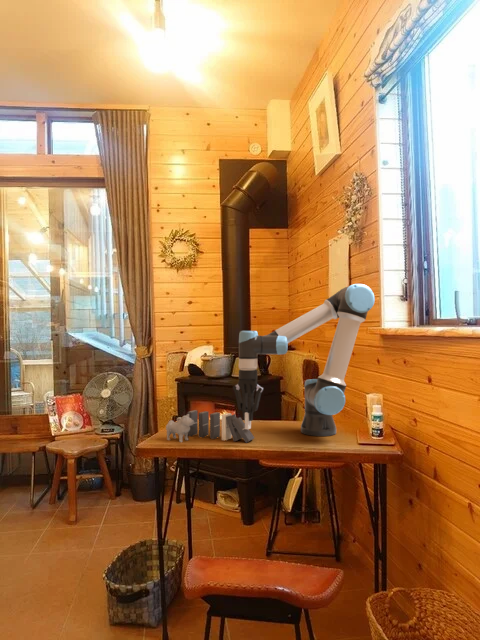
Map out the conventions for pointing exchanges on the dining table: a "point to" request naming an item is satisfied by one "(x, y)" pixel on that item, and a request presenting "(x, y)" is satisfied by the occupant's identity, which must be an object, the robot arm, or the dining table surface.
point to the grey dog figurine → (179, 427)
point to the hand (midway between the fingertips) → (247, 428)
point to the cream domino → (226, 427)
